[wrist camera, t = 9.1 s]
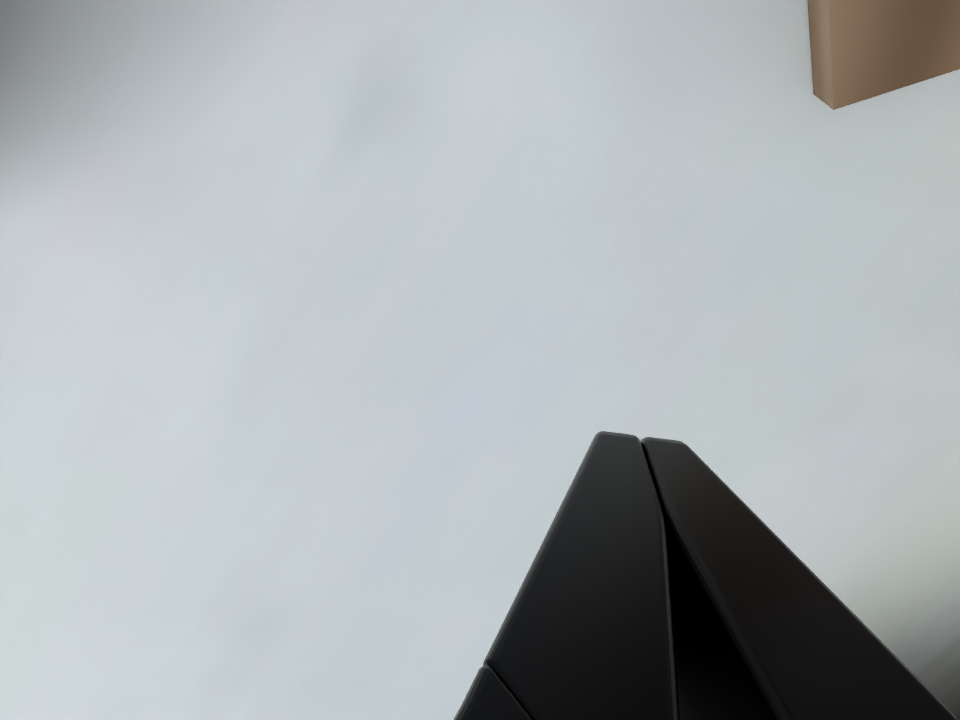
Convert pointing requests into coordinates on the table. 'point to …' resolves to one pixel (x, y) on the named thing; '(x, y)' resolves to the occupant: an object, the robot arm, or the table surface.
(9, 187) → the table surface
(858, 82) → the level stand
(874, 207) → the table surface
